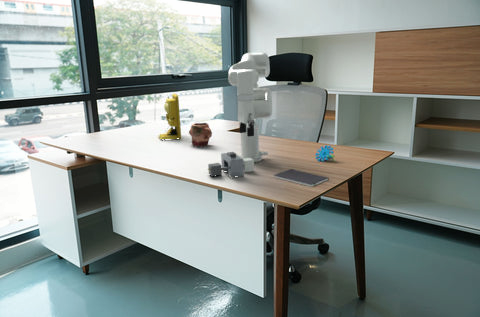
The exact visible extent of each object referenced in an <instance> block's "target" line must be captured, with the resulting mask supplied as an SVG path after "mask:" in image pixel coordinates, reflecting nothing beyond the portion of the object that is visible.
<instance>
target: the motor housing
mask: <svg viewBox="0 0 480 317" xmlns="http://www.w3.org/2000/svg"><path fill="white" fill-rule="evenodd" d="M220 155H221V157H220V158H221V168H222V167H228V169H227V170H223V171H228V172H227V173H228V176H229V175H230V176H231V177H235V176H243V177H244V171H243V158H241V156H240V155H238V154H237V153H236V152H234V151H228V152H226V153H225V152H224V153H220ZM223 171H222V172H223ZM231 177H230V178H231Z"/></svg>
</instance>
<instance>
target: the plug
mask: <svg viewBox="0 0 480 317" xmlns="http://www.w3.org/2000/svg"><path fill="white" fill-rule="evenodd" d="M207 165H208V166H207V167H208V168H207V169H206V170H207V171H208V175H209V174H210V175H211V176H214V177H216V176H215V175H221V176H223V174H222V173H223V171H222V170H227V169H228V167H222V163H219V162H215V163H208V164H207ZM252 172H255V162H254V160H253V159H251V158H245V159H243V173H252ZM210 175H209V176H210ZM211 176H210V177H211Z"/></svg>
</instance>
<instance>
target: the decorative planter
mask: <svg viewBox="0 0 480 317" xmlns="http://www.w3.org/2000/svg"><path fill="white" fill-rule="evenodd" d="M188 134H189V135H190V136H191V145H192V146H193V145H194V146H193V147H195V146H202V147H205V145H206V146H208V145H209V142H210V138H211V137H212V136H213V132H212V129H211V128H210V125H209V123H207V122H196V123H192V124H191V126H190V129H189V130H188Z"/></svg>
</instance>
